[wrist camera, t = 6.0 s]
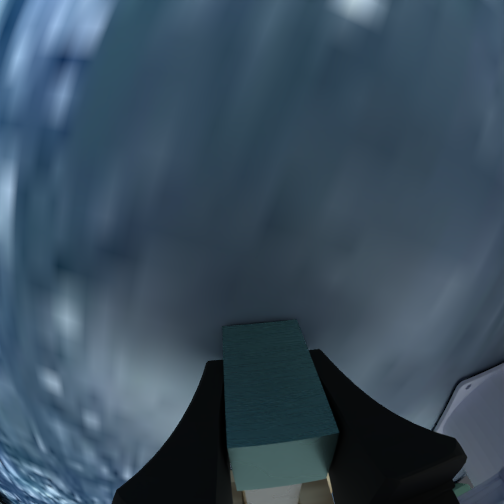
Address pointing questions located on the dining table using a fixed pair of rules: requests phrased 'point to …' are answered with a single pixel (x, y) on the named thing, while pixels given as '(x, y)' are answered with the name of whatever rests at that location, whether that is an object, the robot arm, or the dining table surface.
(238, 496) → the cradle
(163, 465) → the robot arm
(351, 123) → the dining table surface
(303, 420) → the shaft
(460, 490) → the pale green rod
